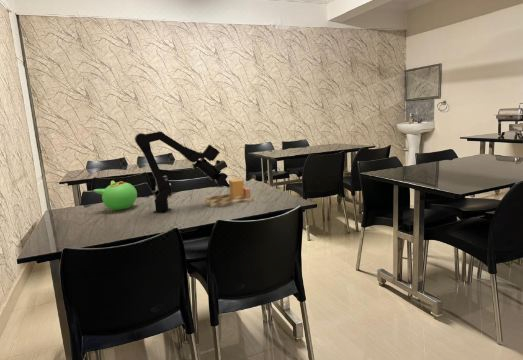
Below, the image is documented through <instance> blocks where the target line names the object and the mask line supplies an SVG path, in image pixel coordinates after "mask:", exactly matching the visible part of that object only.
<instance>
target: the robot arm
mask: <svg viewBox="0 0 523 360" xmlns="http://www.w3.org/2000/svg"><path fill="white" fill-rule="evenodd" d="M157 141H160V142H162V143H164V144H165V145H167V146H169V147H170V148H172V149H174V150H176V152H179V154H181V155H182V156H183V157H184V158H185V160H187V161H189V162H191V163H192V170H194V171H196V170H197V168H198V169H199V170H200V171H201V172H202V173H203V174H204V175H206V176H207V178H208V179H209V180H210V181H214V184H217V185H219V186H223V187H226V188H229V187H230V185H229V181H227V178H228V177H229V176H228V174H226V173H225V172H222V170H223V169H226V168H228V164H227V162H226V161H225V160H219V159H217V160H215V159H216V158H217V157H218V155H219V154H220V151H219V149H217V148H216V147H214V146H213V145H212V144H208V145H207V146H206V148H205V149H204V150H203V152H201V151H199V152H198V151H197V150H194V149H192V148H189V147H186V146H184V145H182V144H181V143H180V142H178V141H176V140H175V139H173V138H172V137H170V136H168V135H167V134H165V133H164V132H163V131H161V130H160V131H155V132H149V133H143V132H140V133H136V135H135V136H134V142H135V143H136V145H137V146H138V147H139V149H140V151H141V152H142V153H143V155H144V157H145V159H146V162H147V165H148V167H149V168H150V171H151V173H152V175H153V178H154V179H155V187H156V186H157V191H156V190H155V192H154V193H153V197H154V198H155V199H154V205H155V210H154V211H152V212H153V213H156V214H157V213H158V214H162V213H163V214H165V213H167V212H169V211H172V208H169V198H168V196H169V195H170V193H171V189H172V185H171V186H170V184H171V183H170V180H169V178H168V179H167V178H166V179H164V178H163V176H164V175H163V174H162V171H161V169H160V167H159V165H158V163H157V160H156V158H155V156H154V153H153V152H152V147H151V143H153V142H157ZM214 160H215V163H214V165H213V164H212V163H210V162H213V161H214Z"/></svg>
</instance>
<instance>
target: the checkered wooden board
mask: <svg viewBox="0 0 523 360" xmlns="http://www.w3.org/2000/svg"><path fill="white" fill-rule="evenodd" d="M203 200H204V203H206V204H207V205H208V206H210V207H211V208H216V207H221V206H228V205H234V204H241V203H246V202H252V201H254V200H253V198H252V196H251V194H250V199H246V195H242V196H235V197H230V193H226V194H225V193H224V194H219V195H212V196H206V197H204V199H203Z"/></svg>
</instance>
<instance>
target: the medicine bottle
mask: <svg viewBox="0 0 523 360" xmlns="http://www.w3.org/2000/svg"><path fill="white" fill-rule="evenodd" d="M162 176H163V178H164V179H166V178H167V179H168V180H169V177H168V176H167V175H162ZM169 184H170V186H171V187H172V184H171V183H169ZM156 191H157V186H156V185H155V192H156ZM172 196H173V191H172V188H171V193H170V195H169V196H168V199H169V198H171V197H172Z"/></svg>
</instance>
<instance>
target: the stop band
mask: <svg viewBox="0 0 523 360" xmlns="http://www.w3.org/2000/svg"><path fill="white" fill-rule="evenodd" d="M244 195H246V199H250V195H251V189H250V188H249V187H246V186H245V185H244Z"/></svg>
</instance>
